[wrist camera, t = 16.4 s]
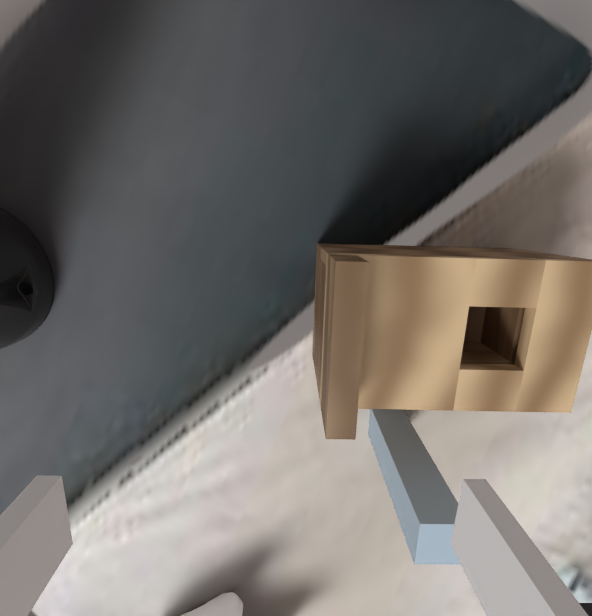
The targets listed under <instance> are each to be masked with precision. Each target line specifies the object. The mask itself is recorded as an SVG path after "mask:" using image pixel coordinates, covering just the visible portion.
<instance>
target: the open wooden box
mask: <svg viewBox="0 0 592 616" xmlns="http://www.w3.org/2000/svg"><path fill="white" fill-rule="evenodd" d="M327 253H350V254H387V255H424V256H462V257H499V258H536V259H574V260H590V259H583V258H576V257H568V256H561V255H554V254H546V253H539V252H532V251H525V250H517V249H505V248H468V247H432V246H394V245H358V244H322V243H317V258H316V282H315V306H314V330H313V360H314V367H315V373H316V379H317V386H318V392H319V398H320V386H321V366H322V345H323V325H324V305H325V284H326V264H327ZM524 312H525V308H516V307H474V306H469V311H468V318H467V324H466V331H465V337H464V344H463V350H462V357H461V363H463V364H511V365H514V363H515V358H516V353H517V348H518V342H519V337H520V332H521V327H522V322H523V317H524Z"/></svg>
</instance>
